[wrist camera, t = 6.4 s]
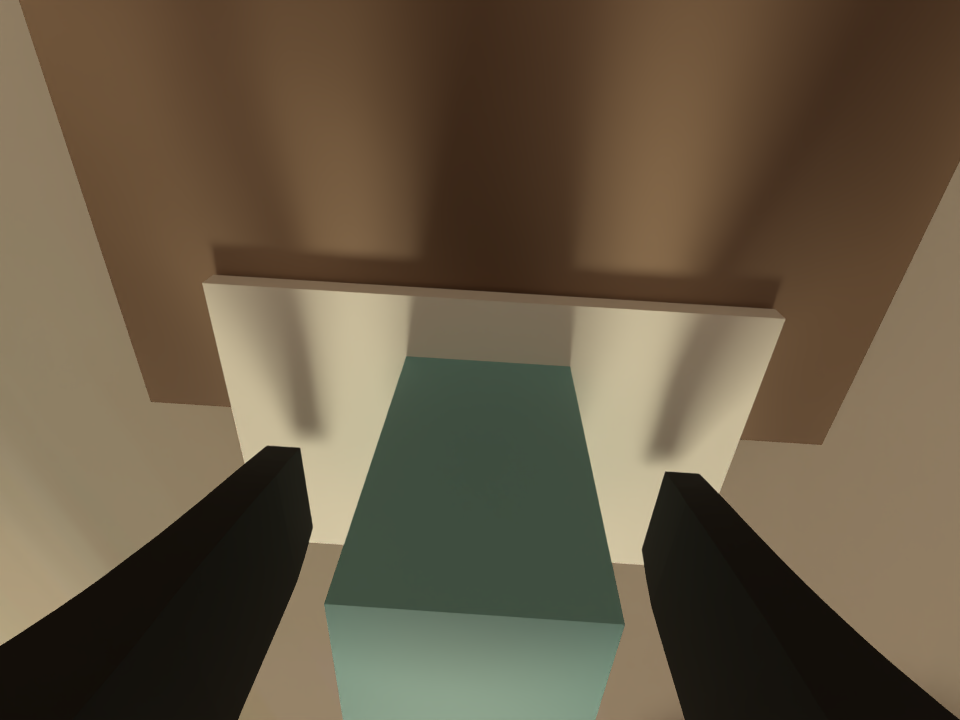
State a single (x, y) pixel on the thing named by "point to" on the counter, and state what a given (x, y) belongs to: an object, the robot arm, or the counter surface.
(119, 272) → the board
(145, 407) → the counter surface
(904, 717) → the robot arm
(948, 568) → the counter surface
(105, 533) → the counter surface
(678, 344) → the cream plaque with block
